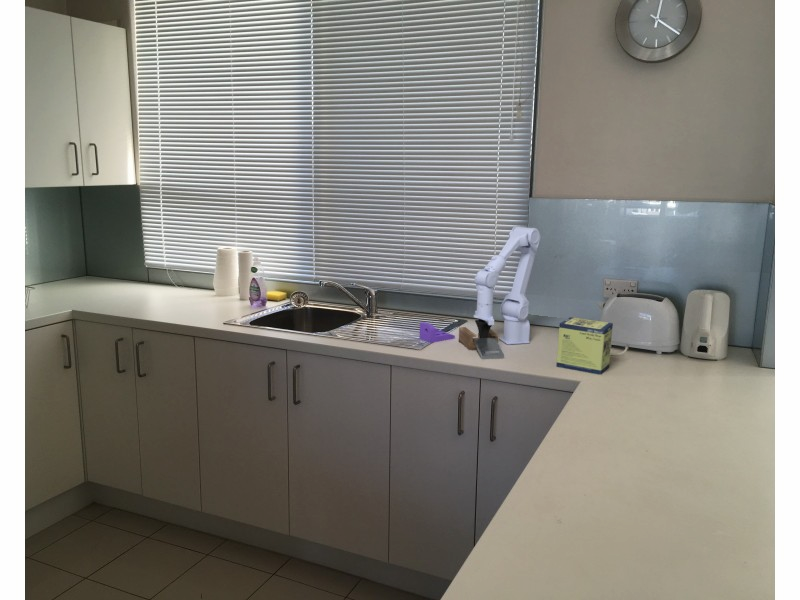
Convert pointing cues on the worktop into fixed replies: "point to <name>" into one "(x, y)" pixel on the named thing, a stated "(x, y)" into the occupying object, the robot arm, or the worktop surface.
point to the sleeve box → (467, 337)
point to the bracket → (433, 333)
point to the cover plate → (488, 348)
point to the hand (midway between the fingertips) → (483, 339)
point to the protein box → (584, 345)
